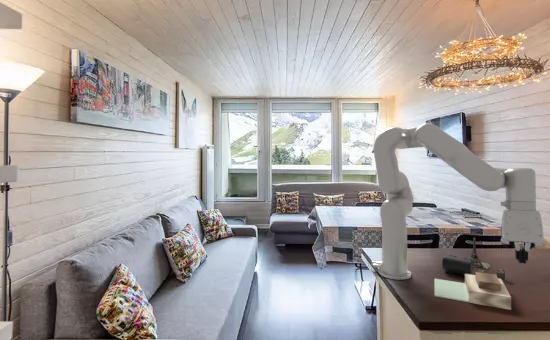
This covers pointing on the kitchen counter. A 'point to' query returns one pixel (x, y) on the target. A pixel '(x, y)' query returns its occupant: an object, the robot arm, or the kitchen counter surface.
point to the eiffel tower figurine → (475, 259)
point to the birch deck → (487, 294)
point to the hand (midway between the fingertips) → (521, 262)
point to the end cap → (457, 265)
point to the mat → (450, 290)
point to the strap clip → (502, 276)
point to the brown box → (488, 281)
